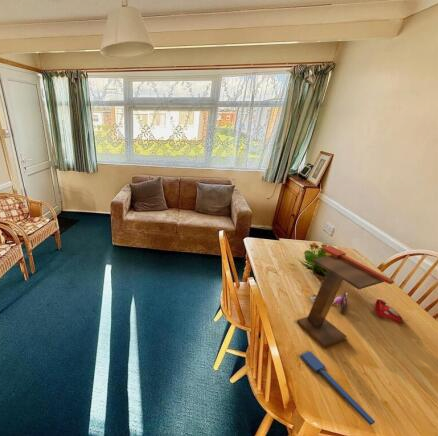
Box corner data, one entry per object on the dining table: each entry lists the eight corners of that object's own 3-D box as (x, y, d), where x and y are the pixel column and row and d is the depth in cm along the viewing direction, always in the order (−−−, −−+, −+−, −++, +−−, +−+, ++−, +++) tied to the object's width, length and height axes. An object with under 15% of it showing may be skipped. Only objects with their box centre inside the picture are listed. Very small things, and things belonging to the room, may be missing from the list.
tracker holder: (409, 320, 98) (396, 320, 95) (400, 325, 100) (386, 326, 97) (382, 295, 107) (369, 295, 104) (374, 301, 110) (361, 300, 107)
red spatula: (395, 282, 74) (397, 279, 74) (387, 285, 73) (388, 282, 73) (329, 247, 93) (330, 245, 93) (321, 249, 92) (322, 247, 92)
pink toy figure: (343, 301, 101) (347, 291, 106) (329, 298, 105) (333, 288, 110) (344, 314, 102) (348, 304, 107) (330, 310, 106) (334, 301, 111)
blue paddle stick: (377, 421, 67) (378, 419, 66) (366, 427, 66) (368, 425, 65) (309, 353, 86) (310, 351, 85) (300, 356, 85) (301, 354, 84)
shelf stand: (352, 342, 90) (389, 278, 76) (326, 352, 86) (359, 287, 73) (314, 311, 104) (340, 253, 90) (290, 319, 100) (313, 259, 86)
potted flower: (354, 275, 127) (366, 248, 119) (349, 297, 111) (363, 269, 104) (302, 257, 142) (311, 232, 135) (292, 275, 127) (301, 248, 120)
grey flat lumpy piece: (318, 295, 113) (319, 292, 112) (332, 307, 106) (333, 304, 105) (305, 296, 112) (307, 293, 111) (319, 309, 105) (320, 306, 104)
